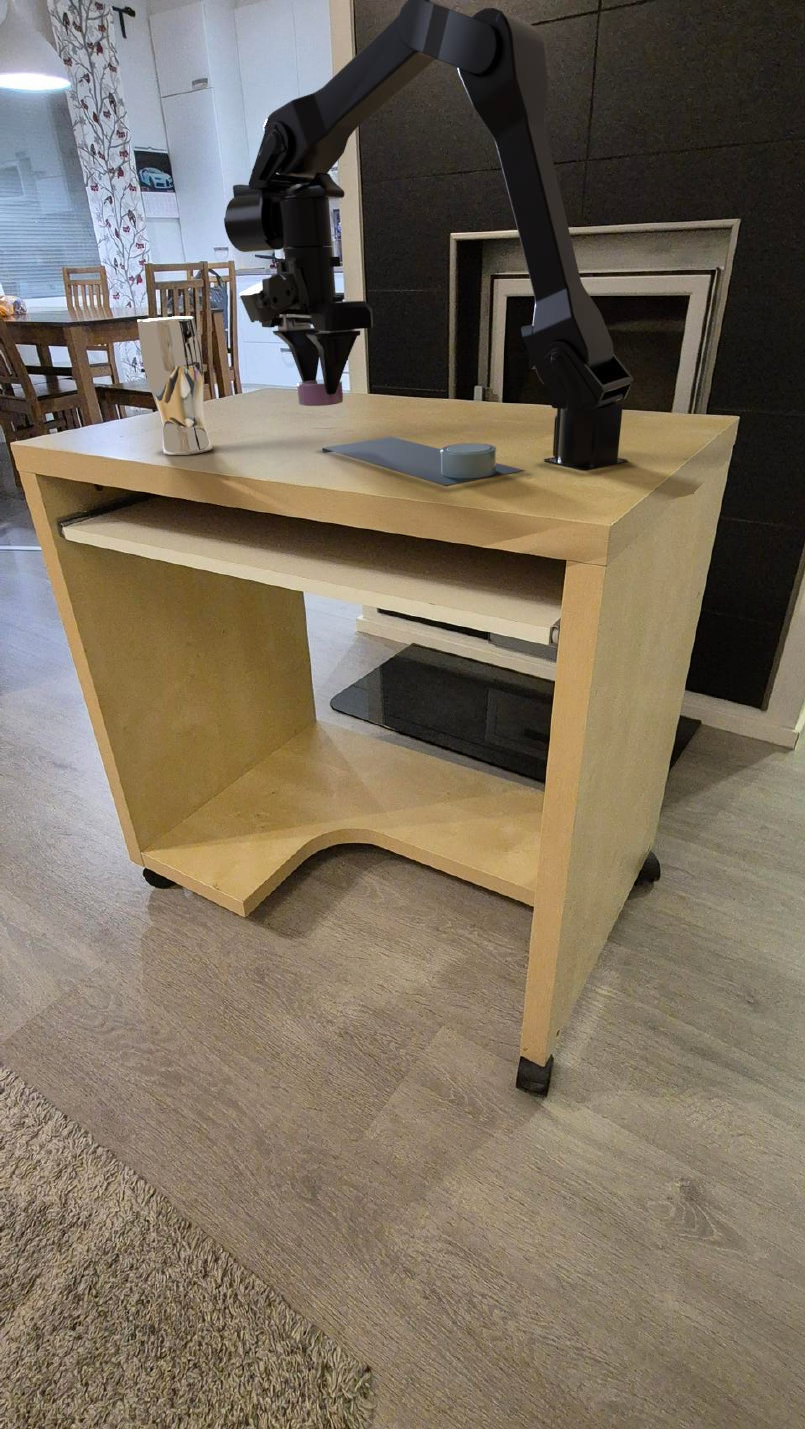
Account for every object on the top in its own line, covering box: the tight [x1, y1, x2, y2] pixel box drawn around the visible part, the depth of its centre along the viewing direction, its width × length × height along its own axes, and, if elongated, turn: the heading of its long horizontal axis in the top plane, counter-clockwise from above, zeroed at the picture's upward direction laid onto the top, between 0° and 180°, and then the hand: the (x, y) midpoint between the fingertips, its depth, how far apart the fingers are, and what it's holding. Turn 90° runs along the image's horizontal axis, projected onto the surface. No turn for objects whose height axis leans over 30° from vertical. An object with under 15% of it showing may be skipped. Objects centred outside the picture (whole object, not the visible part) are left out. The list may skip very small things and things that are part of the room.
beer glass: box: [137, 316, 213, 456], centre depth 94 cm, size 7×7×15 cm
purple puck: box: [296, 379, 344, 407], centre depth 97 cm, size 6×6×2 cm
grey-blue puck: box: [440, 442, 497, 479], centre depth 79 cm, size 6×6×2 cm
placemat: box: [321, 436, 525, 487], centre depth 87 cm, size 26×10×1 cm, turn 33°
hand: (320, 392), depth 97 cm, fingers closed on purple puck, 5 cm apart
